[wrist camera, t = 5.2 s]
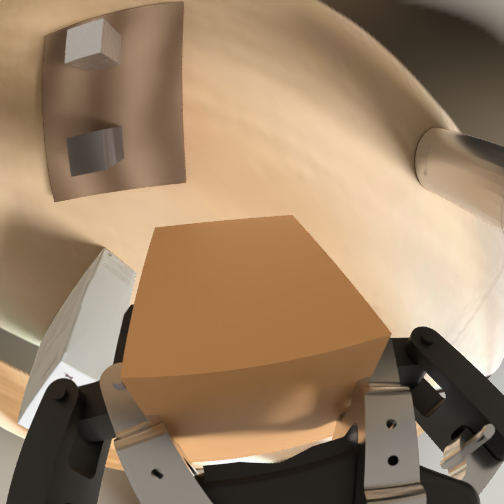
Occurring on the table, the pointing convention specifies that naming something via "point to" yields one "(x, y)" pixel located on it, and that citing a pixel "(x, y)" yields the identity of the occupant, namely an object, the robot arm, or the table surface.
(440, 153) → the robot arm
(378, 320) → the peach wooden cube
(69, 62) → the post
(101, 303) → the skincare box
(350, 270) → the table surface
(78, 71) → the post board
